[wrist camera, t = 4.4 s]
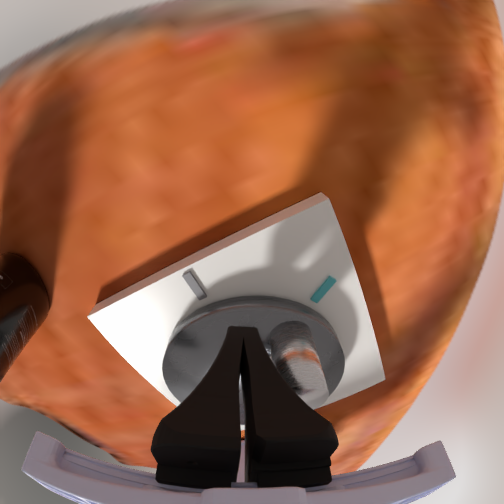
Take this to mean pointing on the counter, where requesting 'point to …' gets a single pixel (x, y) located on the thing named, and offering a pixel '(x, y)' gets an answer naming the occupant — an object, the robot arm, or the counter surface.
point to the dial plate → (251, 292)
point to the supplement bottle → (19, 307)
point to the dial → (274, 340)
